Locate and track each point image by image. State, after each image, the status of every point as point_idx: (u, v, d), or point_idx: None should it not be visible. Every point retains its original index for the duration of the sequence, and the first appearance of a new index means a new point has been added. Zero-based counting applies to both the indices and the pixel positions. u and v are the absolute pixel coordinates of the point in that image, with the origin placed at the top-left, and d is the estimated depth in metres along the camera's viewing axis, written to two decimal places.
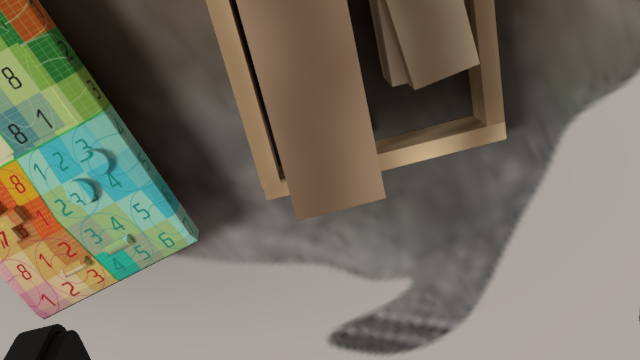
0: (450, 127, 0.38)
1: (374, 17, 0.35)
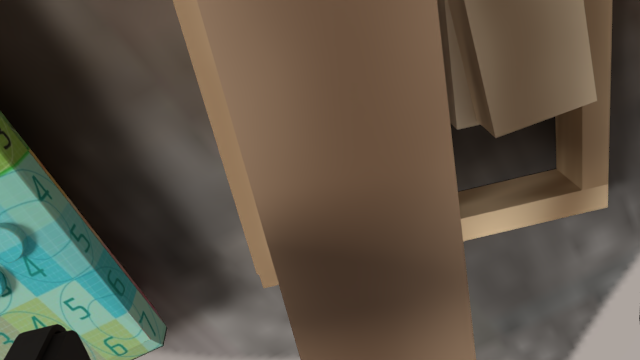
0: (526, 188, 0.27)
1: None
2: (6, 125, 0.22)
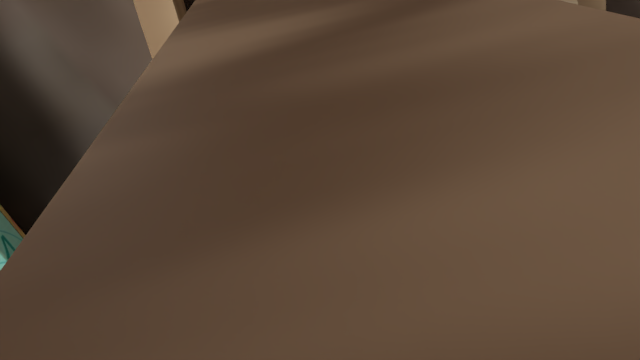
0: None
1: None
2: None
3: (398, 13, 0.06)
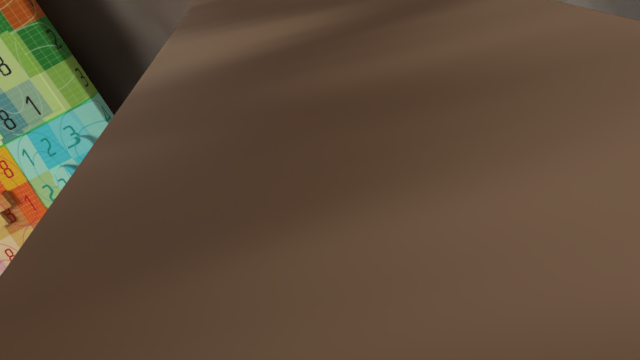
0: None
1: None
2: (84, 73, 0.34)
3: (399, 15, 0.06)
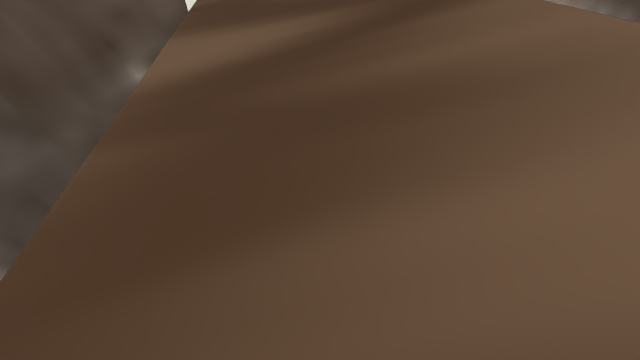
0: None
1: None
2: None
3: (399, 16, 0.06)
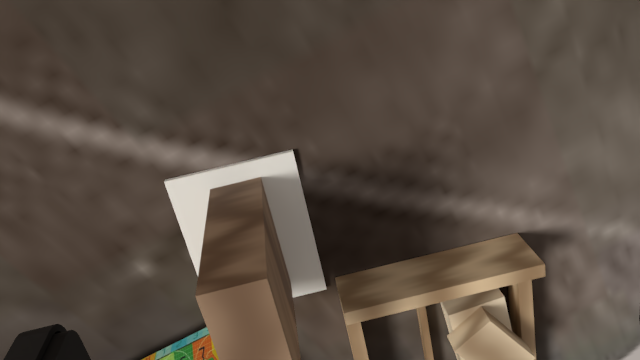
0: None
1: None
2: None
3: (245, 227, 0.37)
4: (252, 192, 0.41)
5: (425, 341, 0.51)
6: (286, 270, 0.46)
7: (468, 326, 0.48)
